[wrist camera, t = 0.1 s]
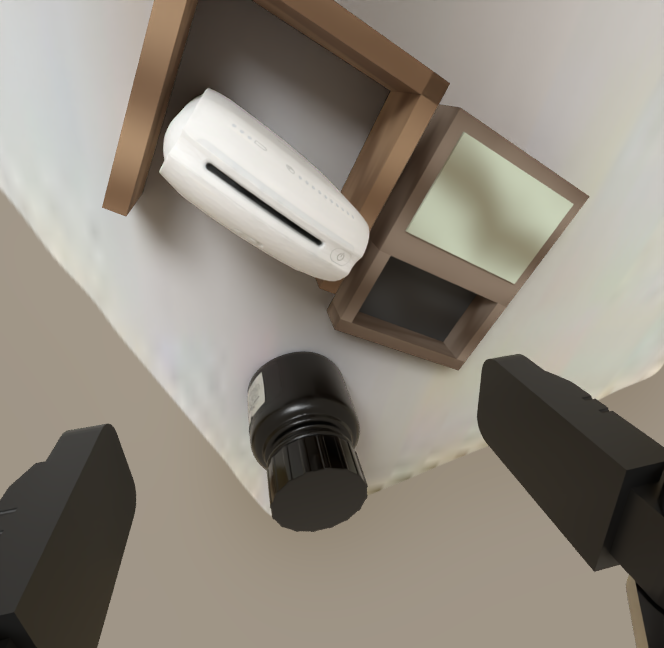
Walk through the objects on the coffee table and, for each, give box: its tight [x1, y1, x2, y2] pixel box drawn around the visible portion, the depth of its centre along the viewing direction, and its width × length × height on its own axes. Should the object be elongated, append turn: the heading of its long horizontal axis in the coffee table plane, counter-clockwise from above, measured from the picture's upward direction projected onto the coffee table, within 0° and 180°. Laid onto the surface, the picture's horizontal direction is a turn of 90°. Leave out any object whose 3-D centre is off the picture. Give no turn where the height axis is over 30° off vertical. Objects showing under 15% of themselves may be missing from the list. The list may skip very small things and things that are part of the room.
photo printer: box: [159, 88, 369, 281], centre depth 22 cm, size 10×4×12 cm, turn 52°
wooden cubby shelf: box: [102, 0, 450, 294], centre depth 24 cm, size 14×14×5 cm
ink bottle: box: [247, 352, 368, 532], centre depth 33 cm, size 10×9×12 cm
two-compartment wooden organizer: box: [327, 104, 589, 370], centre depth 32 cm, size 17×13×3 cm
